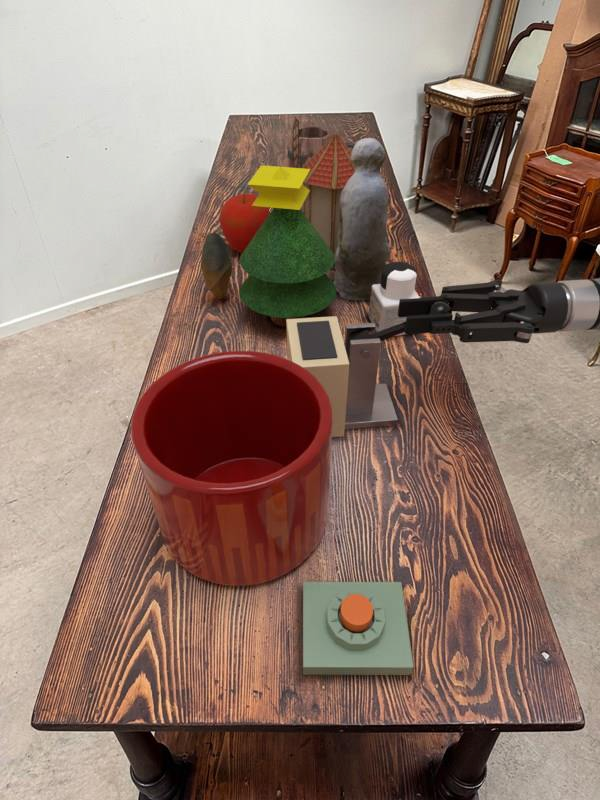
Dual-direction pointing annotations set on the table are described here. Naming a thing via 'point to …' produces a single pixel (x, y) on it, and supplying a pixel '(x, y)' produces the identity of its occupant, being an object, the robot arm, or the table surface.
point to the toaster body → (322, 360)
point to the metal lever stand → (366, 383)
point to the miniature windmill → (325, 184)
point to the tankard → (309, 145)
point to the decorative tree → (285, 251)
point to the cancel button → (356, 613)
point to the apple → (241, 220)
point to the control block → (355, 651)
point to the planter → (236, 464)
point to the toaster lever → (401, 324)
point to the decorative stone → (216, 265)
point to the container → (392, 294)
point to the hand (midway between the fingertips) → (402, 316)
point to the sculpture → (362, 224)
